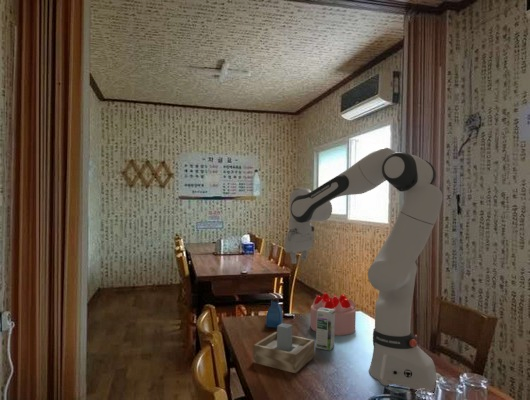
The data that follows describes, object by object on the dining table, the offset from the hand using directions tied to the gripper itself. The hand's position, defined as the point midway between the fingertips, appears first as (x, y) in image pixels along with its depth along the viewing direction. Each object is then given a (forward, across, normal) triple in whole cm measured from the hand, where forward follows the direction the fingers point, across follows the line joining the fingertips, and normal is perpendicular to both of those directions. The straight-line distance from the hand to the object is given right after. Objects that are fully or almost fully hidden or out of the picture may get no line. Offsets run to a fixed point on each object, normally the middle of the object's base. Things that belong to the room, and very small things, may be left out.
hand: (299, 262), depth 159 cm
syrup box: (+31, -3, -13) cm, 34 cm away
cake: (+31, +20, -8) cm, 38 cm away
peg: (+31, -22, -5) cm, 38 cm away
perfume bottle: (+31, +10, +16) cm, 37 cm away
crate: (+31, -22, -5) cm, 38 cm away
